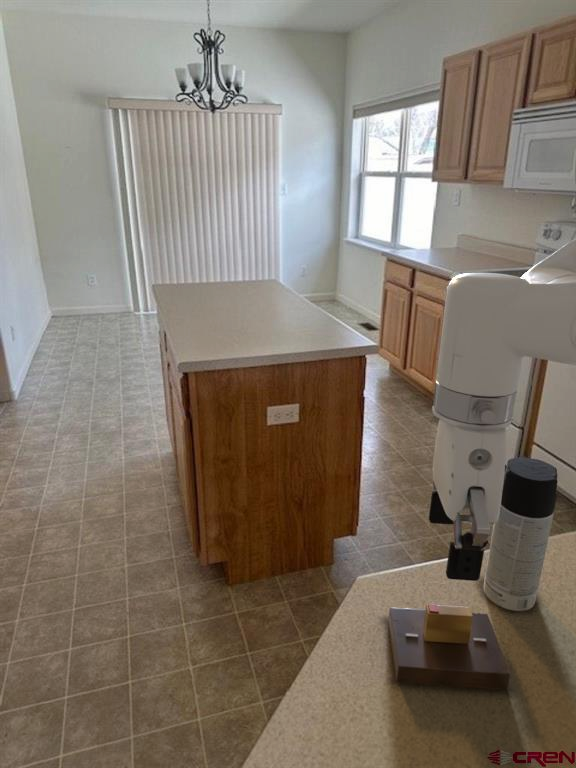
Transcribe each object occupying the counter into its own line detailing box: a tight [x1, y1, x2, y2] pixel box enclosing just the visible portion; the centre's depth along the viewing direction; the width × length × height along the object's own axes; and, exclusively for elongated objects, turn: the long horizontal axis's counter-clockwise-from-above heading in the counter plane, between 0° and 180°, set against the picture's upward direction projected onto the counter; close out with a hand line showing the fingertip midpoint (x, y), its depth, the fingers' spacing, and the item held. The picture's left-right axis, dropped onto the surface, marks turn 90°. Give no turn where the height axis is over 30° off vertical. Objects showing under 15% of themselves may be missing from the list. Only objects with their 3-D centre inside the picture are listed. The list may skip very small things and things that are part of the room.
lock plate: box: [387, 607, 511, 690], centre depth 63 cm, size 12×9×3 cm
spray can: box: [483, 456, 559, 612], centre depth 69 cm, size 7×7×20 cm
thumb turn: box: [423, 603, 473, 644], centre depth 61 cm, size 5×2×4 cm, turn 86°
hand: (451, 548), depth 58 cm, fingers open, 9 cm apart
